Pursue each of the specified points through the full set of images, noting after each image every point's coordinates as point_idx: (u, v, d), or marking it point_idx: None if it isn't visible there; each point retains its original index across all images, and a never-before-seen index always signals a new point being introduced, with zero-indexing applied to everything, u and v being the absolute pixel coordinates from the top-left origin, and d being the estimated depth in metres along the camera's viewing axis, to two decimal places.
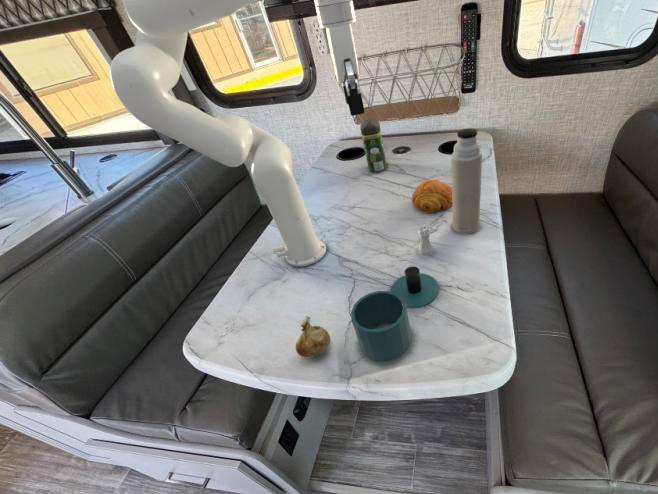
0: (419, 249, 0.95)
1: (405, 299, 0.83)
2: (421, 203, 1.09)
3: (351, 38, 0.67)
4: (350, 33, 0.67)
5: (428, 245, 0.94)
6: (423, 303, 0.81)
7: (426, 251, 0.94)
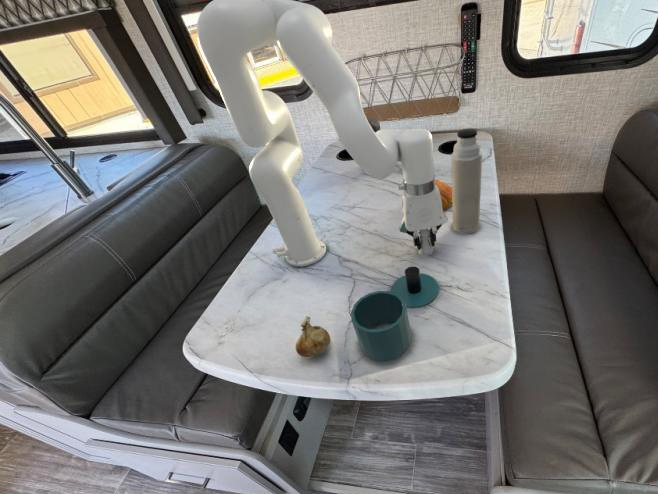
0: None
1: (405, 299, 0.83)
2: None
3: None
4: None
5: (428, 245, 0.94)
6: (423, 303, 0.81)
7: (426, 251, 0.94)
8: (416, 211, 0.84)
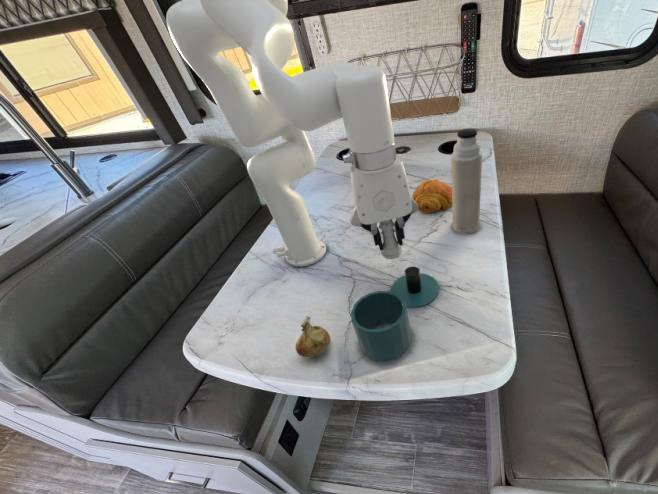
0: None
1: (405, 299, 0.83)
2: (421, 203, 1.09)
3: None
4: None
5: (394, 244, 0.68)
6: (423, 303, 0.81)
7: (391, 252, 0.68)
8: (371, 195, 0.58)
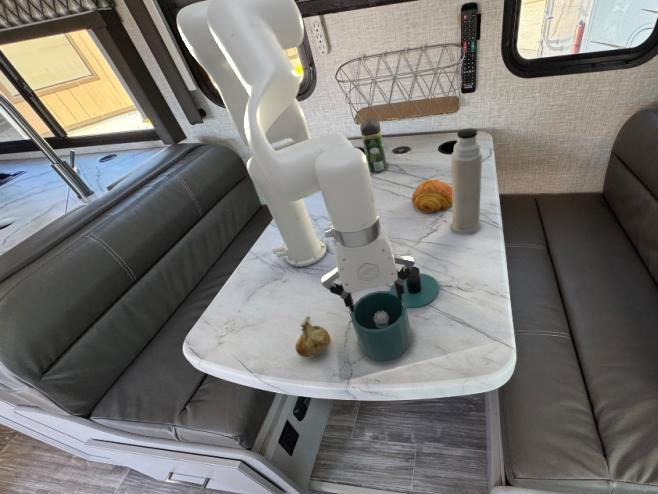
0: None
1: (405, 299, 0.83)
2: (421, 203, 1.09)
3: None
4: None
5: None
6: (423, 303, 0.81)
7: None
8: (354, 267, 0.56)
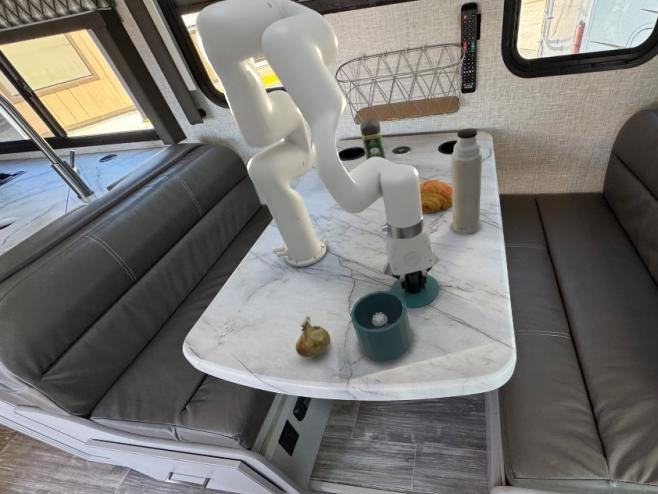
0: None
1: (405, 299, 0.83)
2: (421, 203, 1.09)
3: None
4: None
5: None
6: (423, 303, 0.81)
7: None
8: (402, 254, 0.73)
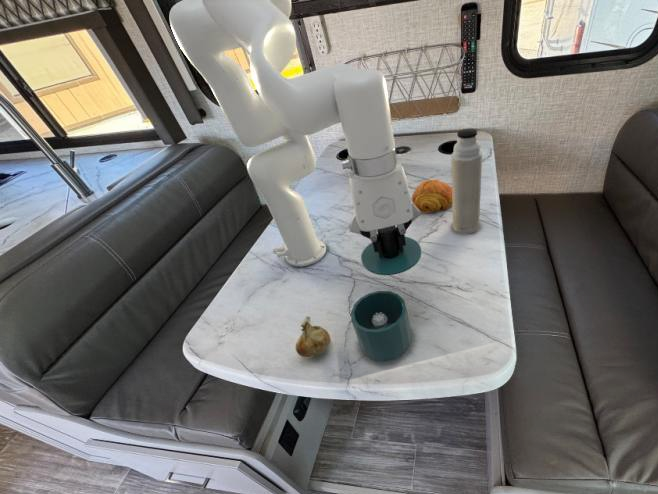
0: None
1: (379, 265, 0.66)
2: (421, 203, 1.09)
3: None
4: None
5: None
6: (401, 269, 0.64)
7: None
8: (370, 201, 0.56)
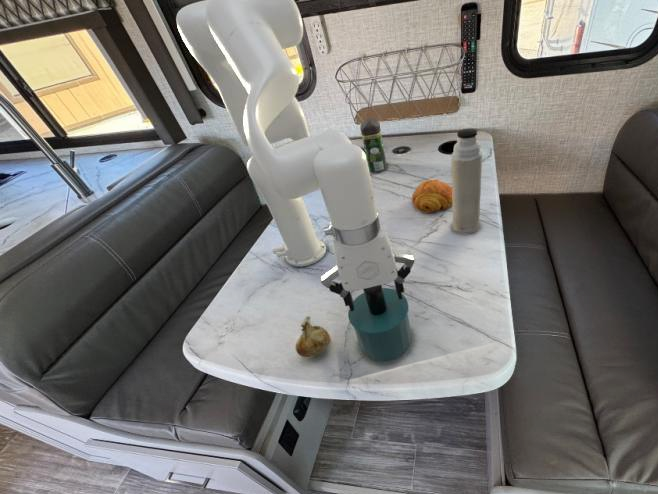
0: None
1: (365, 322, 0.66)
2: (421, 203, 1.09)
3: None
4: None
5: None
6: (387, 328, 0.64)
7: None
8: (353, 265, 0.56)
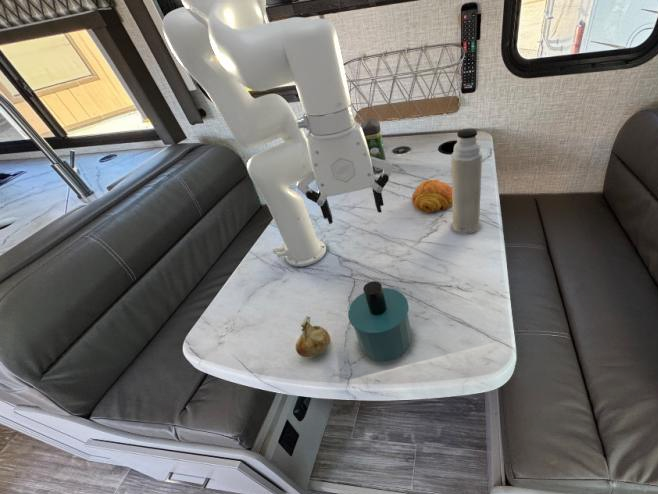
0: None
1: (365, 322, 0.66)
2: (421, 203, 1.09)
3: None
4: None
5: None
6: (387, 328, 0.64)
7: None
8: (328, 163, 0.55)
